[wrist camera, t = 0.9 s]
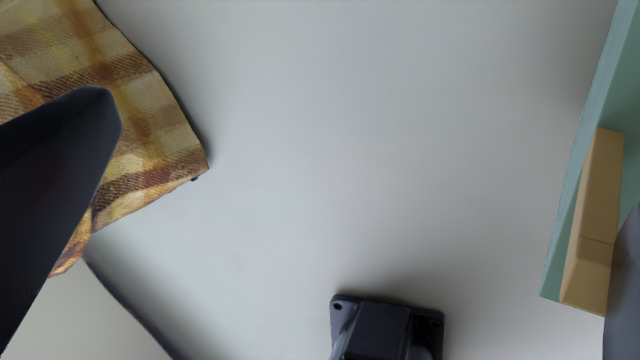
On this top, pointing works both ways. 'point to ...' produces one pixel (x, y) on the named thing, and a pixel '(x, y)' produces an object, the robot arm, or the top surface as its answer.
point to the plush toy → (128, 92)
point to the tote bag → (599, 173)
